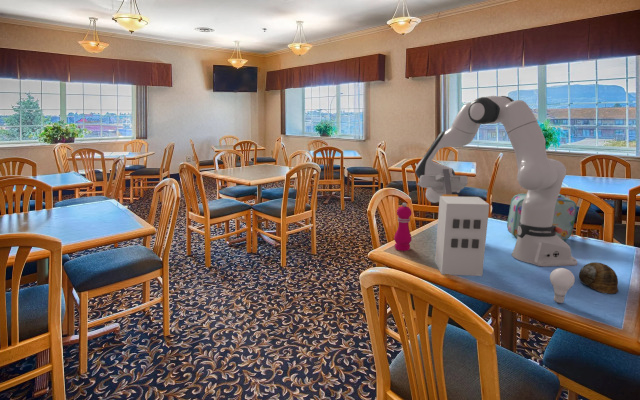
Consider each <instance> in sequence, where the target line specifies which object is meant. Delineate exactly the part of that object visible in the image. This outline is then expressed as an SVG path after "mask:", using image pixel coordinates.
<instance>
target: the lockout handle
mask: <svg viewBox="0 0 640 400" xmlns="http://www.w3.org/2000/svg"><path fill="white" fill-rule="evenodd" d="M442 173H444V178H443V186H444V194H443V195H442V196H455V197H459V194H454V193H453V194H452V190H451V182H450V175H449V169H443V171H442Z"/></svg>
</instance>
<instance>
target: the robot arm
mask: <svg viewBox="0 0 640 400" xmlns="http://www.w3.org/2000/svg"><path fill="white" fill-rule="evenodd" d="M498 123H501V124H502V125H503V127H504V129H505V131H506V135H507V136H508V139H509V141H510V145H511V146H512V149H513V151H514V154H515V160H516V165H517V174H516V180H517V182H518V185H519V186H520V187H521V188H523V189H525V190H527V192H526V194H527V195H526V197H525V199H524V200H523V203H522V210H521V219H520V221H519V225H518V231H517V232H518V234H517V235H518V237H517V238H516V242H515V245H514V248H513V250H512V252H511V257H513V258H514V259H515V260H516V259H517V260H518V261H521V262H524V263H529V264H533V265H536V266H539V267H542V268H543V267H567V266H578V260H577V259H576V258H575V257H574V256H573V255H572V250H571V246H570V245H569V244H568V243H567V242H565V240H564V241H563V240H562V239H561V238H560V237H558V236H557V235H556V232H557V233H559V234H560V233H561V232H562V229H561V228H559V227H556V226H554V225H552V224H553V217H554V210H555V205H556V201H557V198H558V195H559V194H560V192H561V189H562V185H563V182H564V179H565V178H566V175H567V169H566V166H565V164H564V163H562V162H561V161H560V160H557V159H554V158H549V157H548V155H547V153H548V152H547V149H546V140H547V139H546V138H545V136H544V133H543V131H542V128H541V126H540V125H539V122H538V120H537V118H536V116H535V114H534V112H533V111H532V109H531V108H530V106H529V105H528V104H527V102H526V101H524V100H520V99H518V100H517V99H516V100H514V99H513V98H511V97H510V96H506V95H501V96H500V95H499V96H497V95H489V96H482V97H479V98H476V99H475V100H472V102H467V103H465V104H463V105H462V107H461V108H460V109H459V111H458V113H457V114H456V116H455V118H454V120H453V123H452V124H451V126H450V127H449V128H448V129H446V130H444V131H441V132H440V133H439V134H438V135H437V136H436V137H435V140H434V141H433V142H432V144H431V145H430V146H429V147H428V150H427V151H426V153H425V154H424V156H423V157H422V159H420V161H418V163H417V164H416V167H415V171H414V173H415V175H416V177H417V178H418V179H419V181H418V182H417V186H420V187H421V188H424V189H425V188H426V190H425V198H426V199H427V200H428V202H430V203H435V204H436V203H439V200H440V196H442V195H443V194H444V186H443V178H444V173H442V171H443V169H449V175H450V182H451V190H452V194H453V195H454V194H458V193H461V190H463V189H465V188H466V187H467V185H468V184H469V183H468V176H467V175H456V173H455V171H454V169H453V168H452V167H449V166H447V165H444V164H441V163H438V162H435V161H433V159H434V157H436V154H437V153H438V152H439V150H441V149H443V148H453V147H454V148H460V147H464V146H467V145H469V144H471V143H472V142H473V140H474V139H475V137H476V135H477V133H478V131H479V128H480V127H481V125H486V124H491V125H492V124H498Z"/></svg>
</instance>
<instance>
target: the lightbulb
mask: <svg viewBox="0 0 640 400" xmlns="http://www.w3.org/2000/svg"><path fill="white" fill-rule="evenodd" d="M575 280H576V277H575V276H574V274H573V272H572V271H571V270H569V269H567V268H564V267H558V268H555V269H553V270H552V271H551V273H550V275H549V281H550V283H551V285H552V287H553V292H554V296H553V301H555V303H557V304H563V303H565V297H566V294H568V293H567V292H568V291H569V290H570V289H571V288H572V287H573V286H574V284H575Z"/></svg>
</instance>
